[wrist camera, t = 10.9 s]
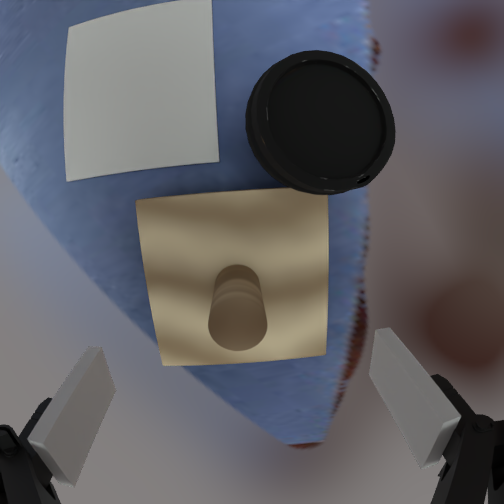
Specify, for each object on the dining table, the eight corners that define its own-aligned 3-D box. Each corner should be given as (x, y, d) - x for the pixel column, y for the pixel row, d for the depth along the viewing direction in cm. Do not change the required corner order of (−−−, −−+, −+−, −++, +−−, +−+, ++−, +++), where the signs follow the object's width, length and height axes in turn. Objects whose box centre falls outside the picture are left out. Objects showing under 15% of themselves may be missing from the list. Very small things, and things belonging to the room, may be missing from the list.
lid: (139, 199, 25) (99, 212, 17) (323, 186, 25) (360, 193, 17) (165, 358, 29) (146, 415, 21) (322, 348, 29) (347, 402, 21)
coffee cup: (269, 200, 30) (298, 228, 16) (225, 123, 28) (215, 81, 14) (343, 160, 30) (427, 158, 15) (302, 85, 28) (355, 23, 13)
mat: (71, 29, 24) (68, 27, 24) (211, -1, 25) (211, -4, 24) (69, 181, 29) (66, 181, 28) (219, 161, 29) (219, 161, 29)
